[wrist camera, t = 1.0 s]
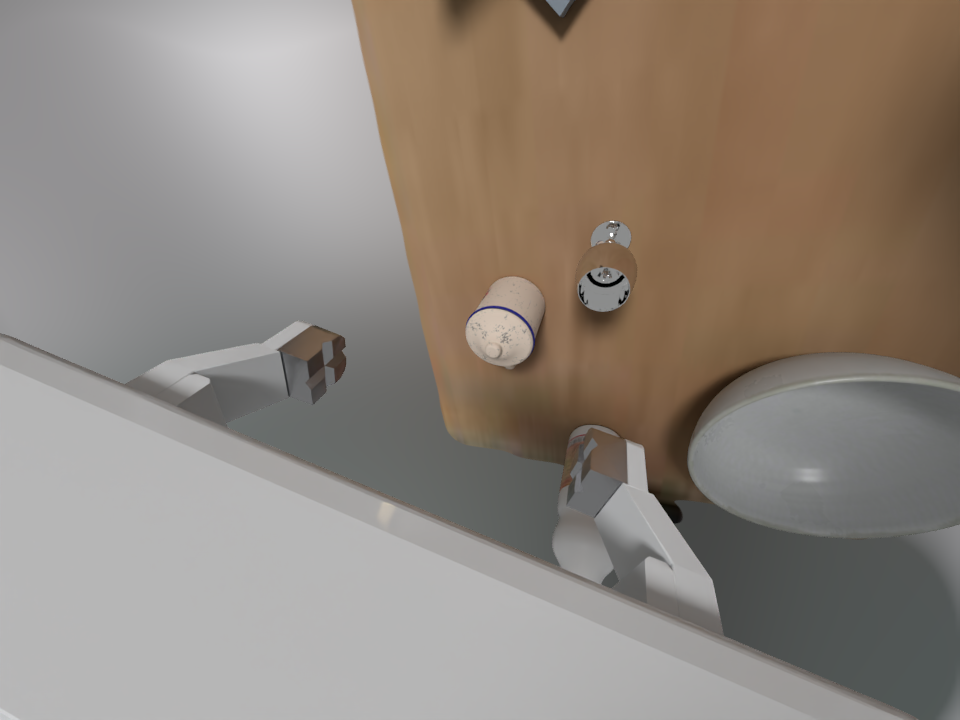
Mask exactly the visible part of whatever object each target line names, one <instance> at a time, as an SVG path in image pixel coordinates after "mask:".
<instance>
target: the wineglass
mask: <svg viewBox="0 0 960 720" xmlns="http://www.w3.org/2000/svg"><path fill="white" fill-rule="evenodd" d="M630 243H631V232H630V230H629V228H628V227H627V226H626V225H625V224H624V223H622V222H619V221H615V220H613V221H606V222H604V223H602V224H600V225H599V226H597V227H596V229H595V230H594V232H593V233H592V236H591V246H592V247H591V248H590V249H589V250H587V251H586V252H585V254H584V255H583V256H582V258H581V259H580V261H579V263H578V265H577V268H576V275H575V282H576V289H577V293H578V296H579V298H580V300H581V302H582V303H583V304H584V305H585V306H586V307H588V308H590V309H592V310H595V311H601V312H605V311H611V310H614V309H616V308H618V307H620V306H621V305H622V304H624V303H625V302H626V300H627V299H628V297H629V295H630V294H631V292H632V290H633V288H634V285H635V283H636V278H637V264H636V260H635V258H634V256H633V254H632V253H631V252H630V250H628V247H629V245H630Z"/></svg>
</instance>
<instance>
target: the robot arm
mask: <svg viewBox="0 0 960 720" xmlns="http://www.w3.org/2000/svg"><path fill="white" fill-rule="evenodd" d="M345 347H346V346H345V338H344V337H342V336H341V335H338V334H336V333H333V332H331V331H328V330H326V329H323V328H320V327H318V326H314V325H312V324H310V323H307V322H304V321H296V322H294V323H293V324H291V325H290V326H288V327H287V328H285V329H284V330H282V331H281V332H279V333H278V334H276V335H275V336H273V337H272V338H270V339H269V340H267V341H265V342H264V343H263V344H258V343H254V344H249V345H243V346H238V347H233V348H228V349H223V350H218V351H213V352H208V353H202V354H197V355H193V356H187V357H182V358H177V359H171V360H167V361H165V362H164V363H162V364H160V365H158V366H156V367H155V368H153V369H151V370H149V371H147V372H146V373H144V374H142V375H141V376H138V377H137V378H135V379H133V380H131V381H130V382H128V383H126V384H122V383H120V382H117V381H115V380H113V379H110V378H108V377H106V376H103V375H101V374H98V373H96V372H94V371H91V370H89V369H86V368H84V367H82V366H79V365H77V364H75V363H72V362H70V361H67V360H65V359H63V358H60V357H58V356H55V355H53V354H51V353H48V352H46V351H44V350H41V349H39V348H37V347H34V346H32V345H30V344H27V343H25V342H23V341H20V340H18V339H16V338H14V337H11V336H8V335H5V334H1V333H0V720H918V719H916V718H915V717H913V716H911V715H909V714H907V713H905V712H903V711H900V710H898V709H896V708H894V707H892V706H889V705H887V704H885V703H882V702H880V701H877V700H875V699H873V698H870V697H868V696H865V695H863V694H861V693H858V692H856V691H853V690H851V689H849V688H846V687H844V686H842V685H839V684H837V683H834V682H832V681H830V680H827V679H825V678H822V677H820V676H818V675H815V674H813V673H810V672H808V671H805V670H803V669H801V668H798V667H796V666H794V665H791V664H789V663H786V662H784V661H782V660H779V659H777V658H774V657H772V656H770V655H768V654H765V653H763V652H760V651H758V650H755V649H753V648H751V647H748V646H746V645H744V644H741V643H739V642H737V641H734V640H732V639H729V638H727V637H725V636H724V635H723V630H722V625H721V620H720V615H719V610H718V605H717V601H716V595H715V591H714V586H713V581H712V579H711V578H710V576H709V575H708V574H707V572H706V571H705V569H704V567H703V566H702V565H701V563H700V562H699V560H698V559H697V557H696V556H695V555H694V553H693V551H692V550H691V549H690V547H689V546H688V544H687V543H686V541H685V540H684V538H683V537H682V536H681V534H680V533H679V531H678V530H677V528H676V527H675V525H674V524H673V522H672V521H671V519H670V518H669V517H668V515H667V514H666V512H665V511H664V509H663V508H662V506H661V505H660V503H659V502H658V501H657V499H656V498H655V496H654V495H653V494H651V493H648V486H647V475H646V464H645V454H644V448H643V446H642V445H640V444H637V443H634V442H632V441H629V440H626V439H622V438H620V437H617V436H614V435H611V434H608V433H606V432H603V431H600V430H597V429H594V428H592V427H591V428H590V429H589V430H588V432H587V433H586V435H585V441H584V444H581V445H579V447H578V449H577V450H576V452H575V455H574V458H573V460H572V465H571V470H570V475H571V477H572V479H573V480H572V481H571V483H570V485H569V486H568V494H567V503H566V506H567V507H570V508H572V509H574V510H577V511H579V512H581V513H584V514H586V515H589V516H591V517H593V518H594V521H595V523H596V526H597V528H598V531H599V533H600V535H601V538H602V540H603V543H604V545H605V548H606V550H607V552H608V555H609V557H610V560H611V562H612V565H613V567H614V569H615V572H616V574H617V577H618V579H619V581H620V582H618V583H617V584H616V585H615V586H614V587H613V588H611V589H610V588H608V587H605V586H603V585H601V584H599V583H596V582H594V581H591V580H589V579H587V578H584V577H582V576H579V575H577V574H575V573H572V572H570V571H568V570H565V569H563V568H560V567H558V566H556V565H553V564H551V563H548V562H546V561H544V560H541V559H539V558H537V557H534V556H532V555H529V554H527V553H525V552H522V551H520V550H517V549H515V548H513V547H510V546H508V545H505V544H503V543H501V542H498V541H496V540H494V539H491V538H489V537H487V536H484V535H482V534H479V533H477V532H474V531H472V530H470V529H467V528H465V527H463V526H460V525H458V524H456V523H453V522H451V521H448V520H446V519H444V518H441V517H439V516H436V515H434V514H432V513H429V512H427V511H424V510H422V509H420V508H417V507H415V506H412V505H410V504H408V503H405V502H403V501H401V500H398V499H395V498H393V497H391V496H389V495H386V494H384V493H381V492H379V491H377V490H374V489H372V488H370V487H367V486H365V485H363V484H360V483H358V482H355V481H353V480H350V479H348V478H346V477H343V476H341V475H339V474H336V473H334V472H332V471H329V470H327V469H324V468H322V467H320V466H317V465H315V464H313V463H310V462H308V461H305V460H303V459H301V458H298V457H296V456H294V455H291V454H289V453H287V452H284V451H282V450H279V449H277V448H275V447H272V446H270V445H267V444H265V443H263V442H260V441H258V440H256V439H253V438H251V437H248V436H246V435H244V434H241V433H239V432H237V431H234V430H232V429H229V428H228V427H227V424H226V423H227V422H230V421H232V420H235V419H237V418H240V417H242V416H245V415H247V414H249V413H252V412H255V411H257V410H260V409H262V408H265V407H267V406H270V405H272V404H274V403H277V402H279V401H282V400H284V399H287V398H288V397H292V398H295V399H297V400H300V401H303V402H306V403H308V404H311V405H313V404H315V402H316V401H318V400H319V399H320V397H322V396H323V395H324V394H325V393H326V386H328V385H332V384H335V383H336V382H337V381H338V380H339V379H340V378H341V376H342V374H343V372H344V370H345V367H346V357H345V355H344V354H343V352H342V350H343V349H344V348H345Z"/></svg>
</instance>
